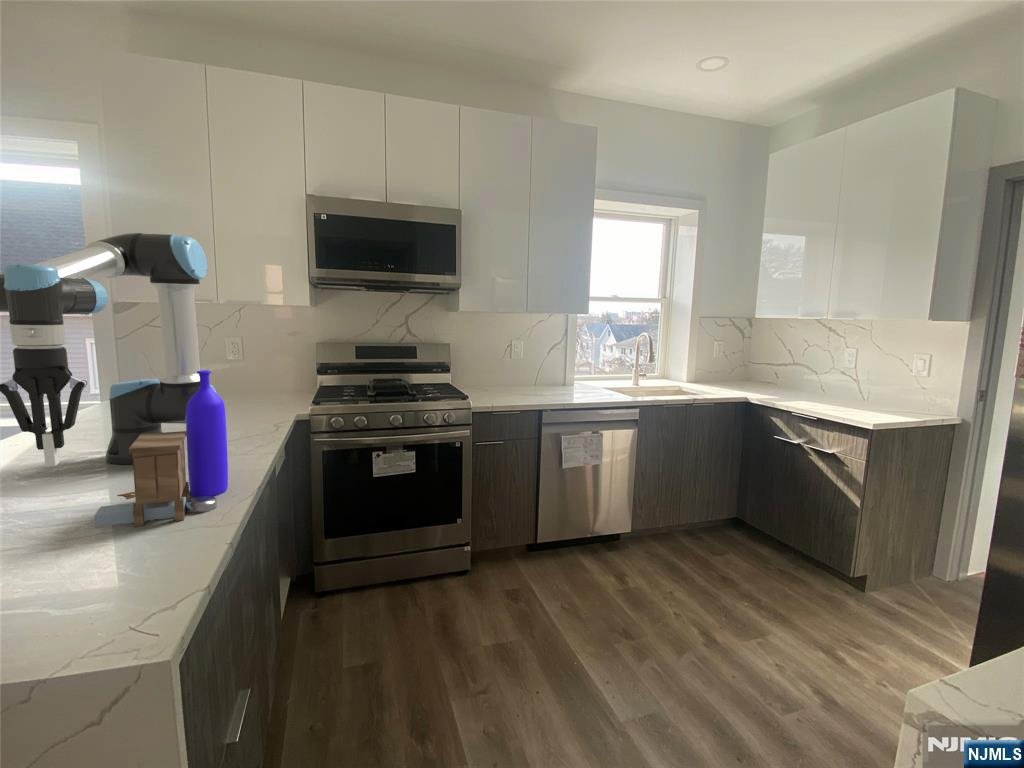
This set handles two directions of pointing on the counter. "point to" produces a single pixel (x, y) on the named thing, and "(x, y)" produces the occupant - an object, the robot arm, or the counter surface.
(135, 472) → the cabinet
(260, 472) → the counter surface
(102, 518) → the batten
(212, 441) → the bottle
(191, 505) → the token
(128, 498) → the saw handle
